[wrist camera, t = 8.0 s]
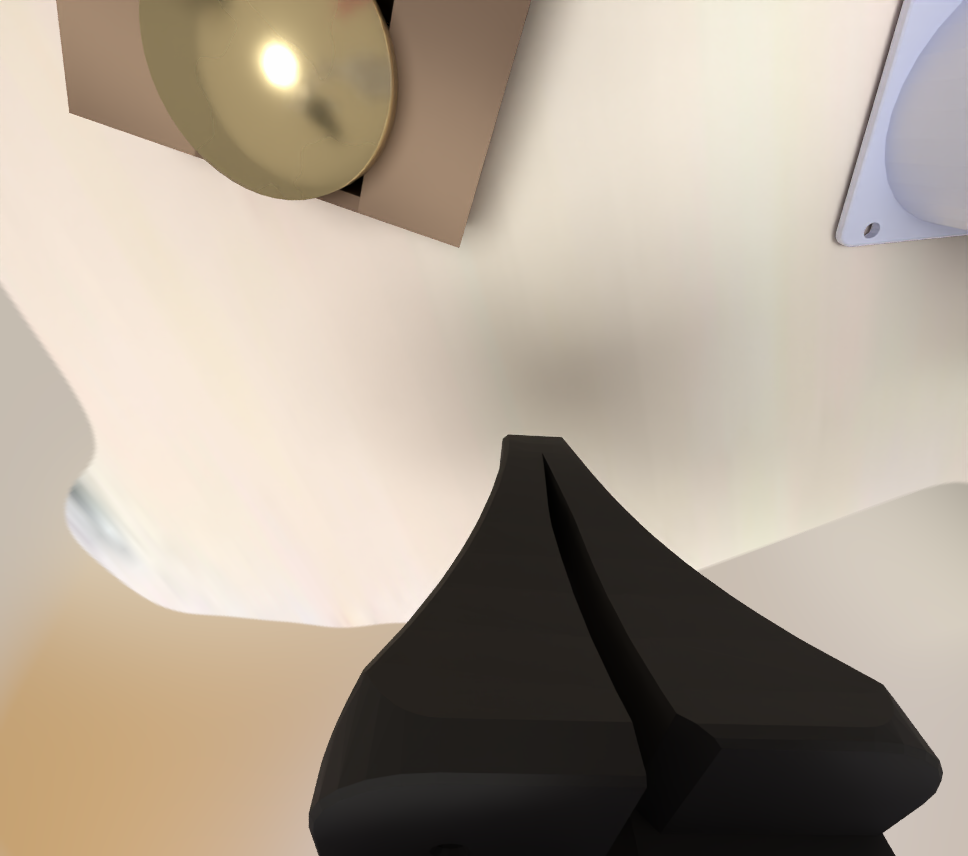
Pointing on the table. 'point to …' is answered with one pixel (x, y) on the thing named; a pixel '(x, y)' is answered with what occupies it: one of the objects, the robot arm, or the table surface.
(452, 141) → the control panel
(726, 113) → the table surface
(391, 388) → the table surface
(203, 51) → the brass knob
